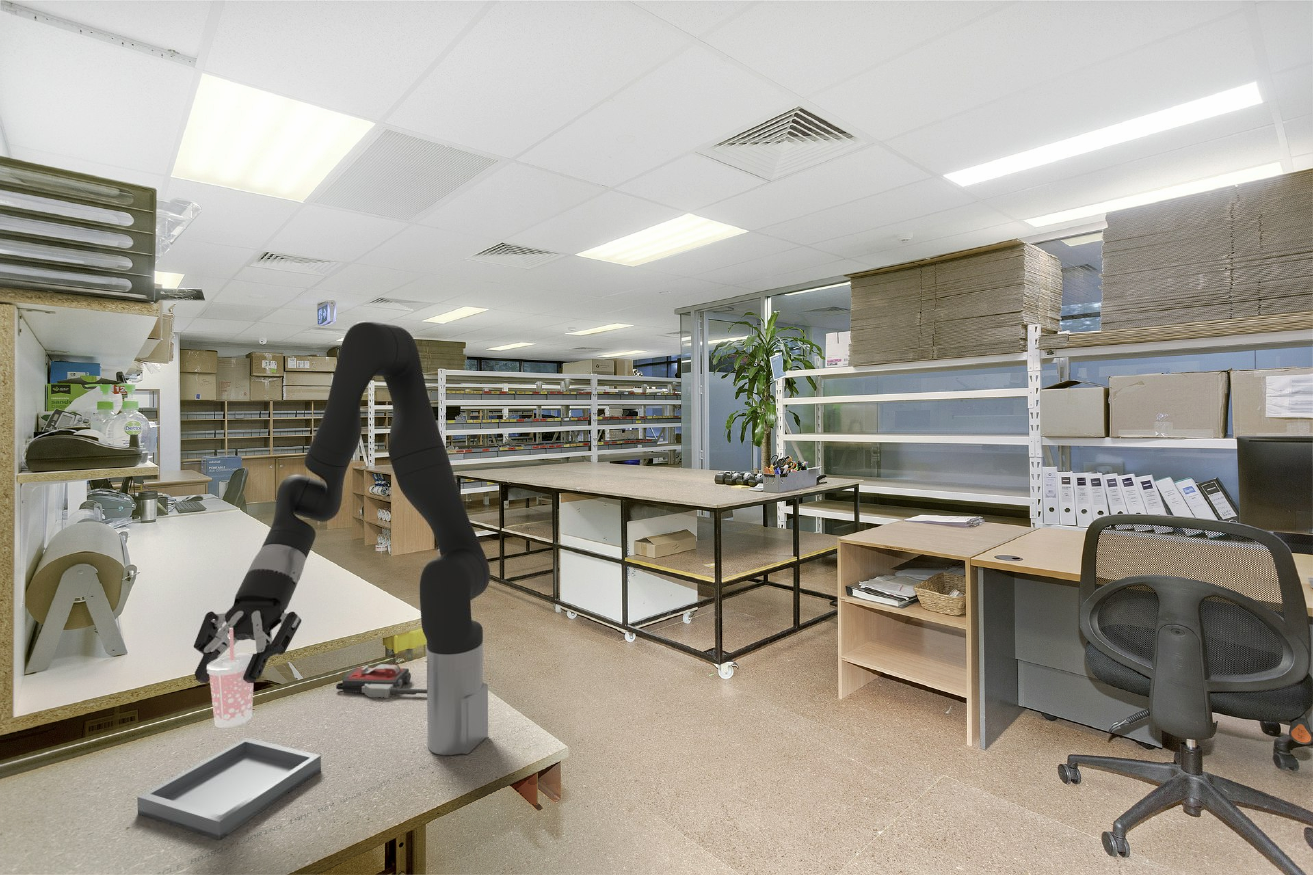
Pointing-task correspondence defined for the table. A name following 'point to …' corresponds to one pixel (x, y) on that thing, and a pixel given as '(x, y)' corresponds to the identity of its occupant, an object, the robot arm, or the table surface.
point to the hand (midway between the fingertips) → (225, 681)
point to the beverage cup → (230, 688)
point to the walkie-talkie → (378, 681)
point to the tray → (229, 787)
